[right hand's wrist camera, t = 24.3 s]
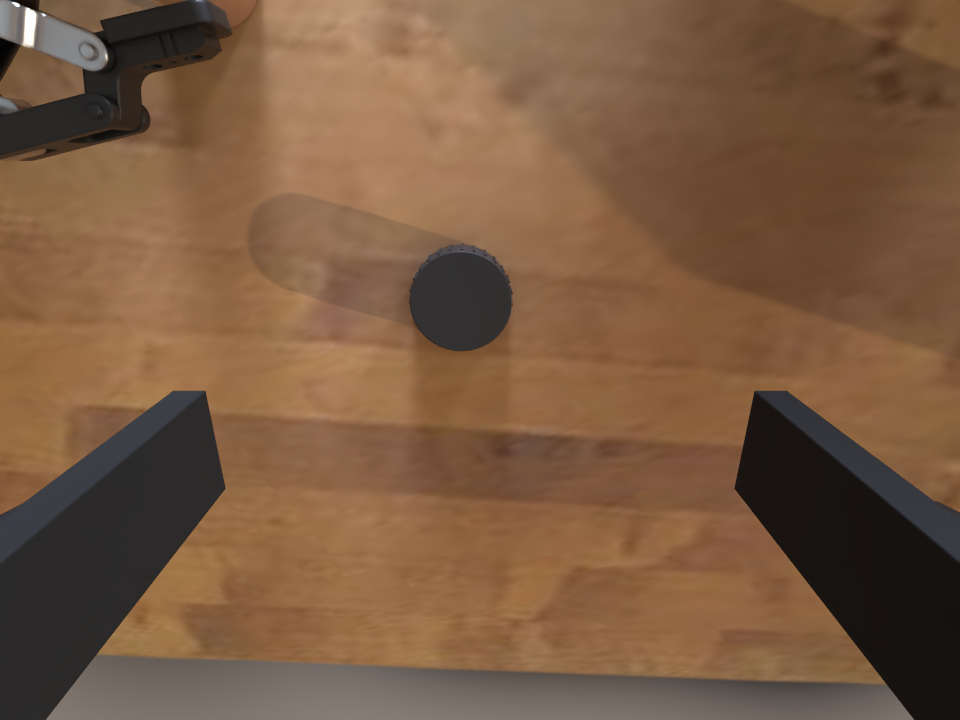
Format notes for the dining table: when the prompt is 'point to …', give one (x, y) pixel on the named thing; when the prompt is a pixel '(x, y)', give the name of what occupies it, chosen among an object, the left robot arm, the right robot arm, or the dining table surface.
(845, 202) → the dining table surface
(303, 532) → the dining table surface
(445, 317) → the lid
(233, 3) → the jar
